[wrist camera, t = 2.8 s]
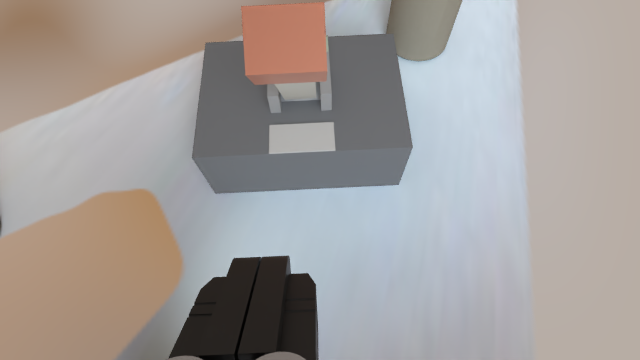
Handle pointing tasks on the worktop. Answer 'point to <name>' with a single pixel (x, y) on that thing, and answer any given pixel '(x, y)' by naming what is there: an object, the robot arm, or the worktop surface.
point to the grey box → (304, 122)
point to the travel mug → (421, 26)
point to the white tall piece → (286, 47)
